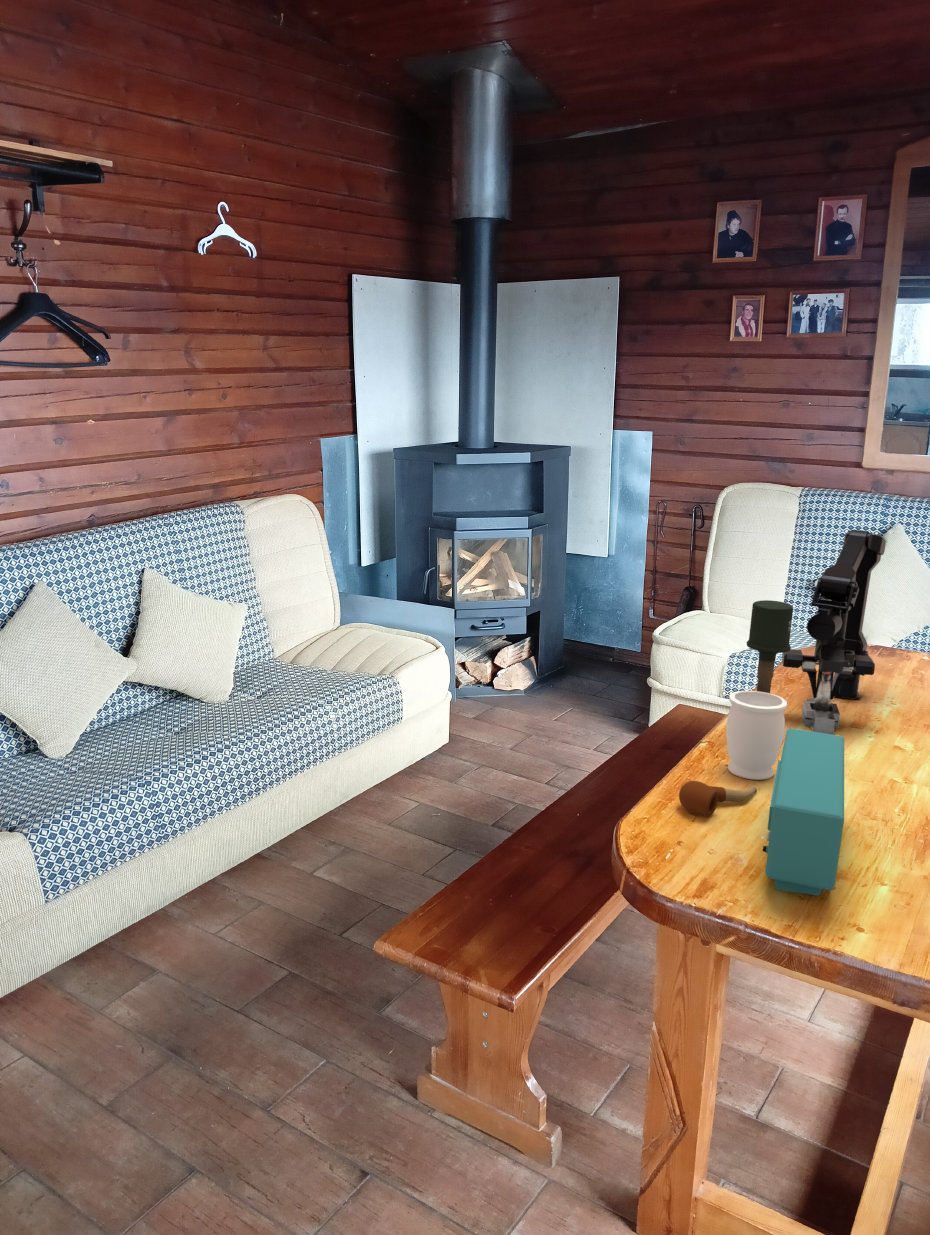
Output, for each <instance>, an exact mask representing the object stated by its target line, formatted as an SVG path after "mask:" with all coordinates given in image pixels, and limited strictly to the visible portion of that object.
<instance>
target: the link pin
mask: <svg viewBox="0 0 930 1235" xmlns="http://www.w3.org/2000/svg"><path fill="white" fill-rule="evenodd" d="M834 673H835V672H822V671H820V670H819V669H818V671H817V678H816V698H815V703H814V710H821V711H829V707H830V703H831V700H830V699H831V692H832V684H833V678H834Z"/></svg>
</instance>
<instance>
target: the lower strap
mask: <svg viewBox="0 0 930 1235" xmlns="http://www.w3.org/2000/svg"><path fill="white" fill-rule="evenodd" d="M806 701H813V702H815V698H813V697H808V698H807V699H806ZM801 718H802V722H803V726H804V727H809V728H812V720H813V718H805V714H804V710H803V708H802V710H801ZM839 725H840V721H835V724H834V730H836V729H837V730H839ZM837 730H836V731H837Z"/></svg>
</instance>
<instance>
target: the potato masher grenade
mask: <svg viewBox="0 0 930 1235" xmlns="http://www.w3.org/2000/svg"><path fill="white" fill-rule="evenodd" d="M751 607H752V608H751V618H750V626H749V633H748V634H749V636H748V640H747V641H746V647H748V648H749V649H751V650H754V651H757V652H758V662H757V663H758V664H757V665H758V666H757V672H756V673H757V674H756V675H757V684H756V691H758V692H765V693H770V694H771V689H772V688H771V687H772V681H773V677H774V673H775V672H774V671H775V662H776V659H777V658H776V657H777V655H778V654H782V653H783V652H788V651H789V650H790V649H792V647H791V645H790V640H791V633H792V624H793V623H792V622H793V616H794V615H793V614H794V606H793V605H791V604H790V603H787V602H783V601H780V600H779V601H778V600H768V599H765V600H756V601H754V602H753V603H752V606H751Z"/></svg>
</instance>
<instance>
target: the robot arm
mask: <svg viewBox="0 0 930 1235" xmlns="http://www.w3.org/2000/svg"><path fill="white" fill-rule="evenodd" d="M886 542H887V541H886V539H885V538H884V537H883V536H882V535H881V534H873V532H870V531H868V530H861V529H851V530H850V529H849V530H848V531H847V532H846V533H844V539H843V544H842V548H841V551H840V554H839V555H838V556H837V557H838V558H837V560H836V561H835V564H834V565H832V566H829V567H827V568H826V569H825V570H824V572H823V573H822V575H821V576H820V577H818V579H817V581H816V582H817V583H816V586H815V590H814V593H813V596H812V601H811V603H810V605H811V607H817V612H816V613H815V614H813V616H811V617H810V618H809V620H808V621H807V623H806V629H807V633H808V634H809V636H810V637H811V638H813V639H814V640H815V645H814V646H815V647H814V654H813V655H808V654H803V652H802V650H801V649H793V648H791V649H790V650H789V651H788V652H783V653H781V654H782V655H781V663H782V666H783V667H785V668H793V669H799V668H801V672H803V673H806V674H807V676H808V678H809V679H808V680H809V684H810V688H811V693H812V698H816V687H817V675H818V671H819V670H820V671H822V672H834V676H833V684H832V692H831V699H830V701H833V700H834V698H839V699H840V698H841V699H852V700H861V699H862V698H861V695H860V692H859V684H860V679H861V676H863V677H864V676H865V675H866V676H867V675H868V676H873V675H874V674H875V668H876V667H875V666H876V665H875V664H876V663H875V662H874V660H873V658H872V657H871V656H870V655H869V651H868V650H867V648H868V642H867V639H866V638H865V635H864V633H863V626H864V621H865V614H866V613H865V612H866V608H867V607H866V606H867V601H868V596H869V588H870V580H871V574H872V571H873V570H874V568H876V566H878V564H879V563H880V562H881V558H882V556H883V555H884V554H885V551H886V546H887V543H886ZM816 665H817V666H818V671H817V668H816Z"/></svg>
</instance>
